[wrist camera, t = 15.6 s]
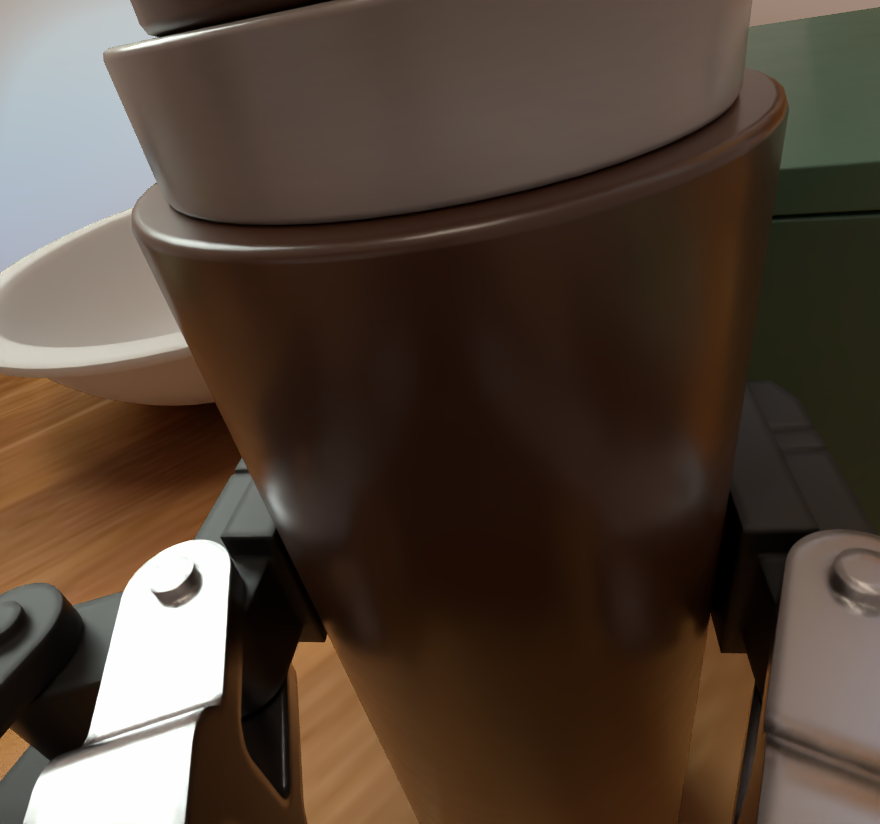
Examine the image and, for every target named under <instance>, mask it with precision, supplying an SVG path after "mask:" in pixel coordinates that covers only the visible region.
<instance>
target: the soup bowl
mask: <svg viewBox="0 0 880 824" xmlns="http://www.w3.org/2000/svg"><path fill="white" fill-rule="evenodd" d="M133 208H134V207H133ZM133 208H131V209H128V210H126V211H123V212H120V213H118V214H115V215H112V216H110V217H107V218H105V219H102V220H100V221H97V222H95V223H93V224H90V225H88V226H86V227H83V228H81V229H79V230H77V231H75V232H73V233H70V234H68V235H66V236H64V237H62V238H60V239H58V240H56V241H54V242H52V243H50V244H48V245H46V246H44V247H42V248H40V249H39V250H37V251H35V252H33V253H31V254H30V255H28V256H26V257H25V258H23V259H21V260H19V261H18V262H16V263H14V264H13V265H12V266H10V267H8V268H7V269H5V270H4V271H2V272H1V273H0V374H2V375H7V376H17V377H28V378H48V379H50V380H52V381H54V382H57V383H59V384H61V385H64V386H66V387H69V388H72V389H75V390H78V391H81V392H84V393H87V394H90V395H93V396H97V397H101V398H106V399H111V400H115V401H121V402H126V403H136V404H146V405H169V406H179V405H195V404H204V403H213V402H215V401H214V399H213V397H212V395H211V393H210V391H209V389H208V386H207V384H206V382H205V380H204V378H203V376H202V374H201V372H200V370H199V368H198V366H197V364H196V362H195V360H194V358H193V356H192V354H191V351H190V349H189V347H188V345H187V343H186V341H185V339H184V337H183V335H182V333H181V331H180V329H179V327H178V325H177V323H176V321H175V318H174V316H173V314H172V312H171V310H170V308H169V306H168V304H167V302H166V300H165V298H164V296H163V294H162V292H161V290H160V288H159V286H158V283H157V281H156V279H155V277H154V275H153V273H152V271H151V269H150V267H149V265H148V263H147V261H146V259H145V257H144V255H143V253H142V251H141V248H140V246H139V244H138V242H137V240H136V238H135V236H134V234H133V232H132V209H133Z"/></svg>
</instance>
